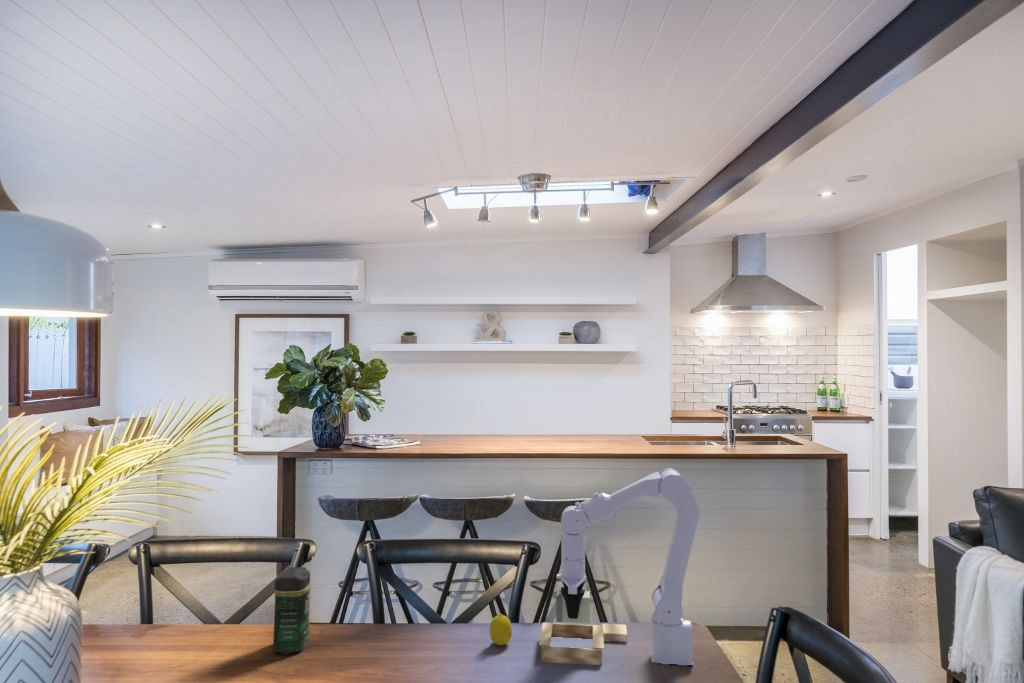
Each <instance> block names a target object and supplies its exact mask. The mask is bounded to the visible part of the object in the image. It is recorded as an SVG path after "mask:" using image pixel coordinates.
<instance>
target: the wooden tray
mask: <svg viewBox="0 0 1024 683" xmlns="http://www.w3.org/2000/svg"><path fill="white" fill-rule="evenodd" d="M551 637H563V638H582V639H593V649H589V648H570V647H551V646H550V642H551ZM539 638H540V639H539V642H538V643H539V644H538V646H539V647H540V656H541V657H540V662H541V663H552V664H553V663H555V664H571V665H573V664H574V665H589V666H591V665H592V666H602V665H603V650H605V641H604V638H603V625H602V624H583V623H579V624H578V623H562V622H555V623H554V622H542V626H541V632H540V637H539Z"/></svg>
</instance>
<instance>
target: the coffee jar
mask: <svg viewBox="0 0 1024 683" xmlns="http://www.w3.org/2000/svg"><path fill="white" fill-rule="evenodd" d="M310 589H311V572H310V571H309V570H308V569H307V568H306V567H304V566H303V567H302V566H301V567H300V566H299V567H296V566H291V567H290V566H289V567H288V568H287V569H285V570H283V571H281V573H280V574H278V575H277V577H276V578H275V580H274V589H273V590H274V616H273V621H274V622H273V642H272V643H273V644H272V650H273V652H275V653H279V654H282V655H288V654H289V655H291V654H293V653H298V652H301V651H303V650H304V649H305V648H306V646H307V645H308V644H309V641H310V592H311V591H310Z"/></svg>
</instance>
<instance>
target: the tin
mask: <svg viewBox="0 0 1024 683" xmlns="http://www.w3.org/2000/svg"><path fill="white" fill-rule="evenodd" d="M555 601H556V602H555V607H556V608H555V617H556V618H555V623H569V624H578V623H579V624H591V592H590V591H589V590H588V591H587V590H585V593H584V595H583V597H582V600H581V603H580V608H579V614H578V618H577V619H571V618H569V617H568V613H567V608H566V603H565V599H564V597H563V595H562V593H561V589H556V597H555Z"/></svg>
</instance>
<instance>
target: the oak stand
mask: <svg viewBox="0 0 1024 683" xmlns="http://www.w3.org/2000/svg"><path fill="white" fill-rule="evenodd" d="M601 625H603V638H604V642H610V641H619V642H618V643H628V631H627V625H626V624H622V623H621V624H617V623H602V624H601Z"/></svg>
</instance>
